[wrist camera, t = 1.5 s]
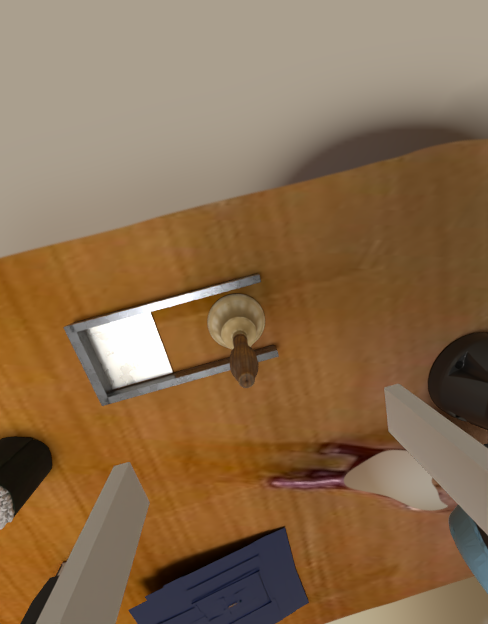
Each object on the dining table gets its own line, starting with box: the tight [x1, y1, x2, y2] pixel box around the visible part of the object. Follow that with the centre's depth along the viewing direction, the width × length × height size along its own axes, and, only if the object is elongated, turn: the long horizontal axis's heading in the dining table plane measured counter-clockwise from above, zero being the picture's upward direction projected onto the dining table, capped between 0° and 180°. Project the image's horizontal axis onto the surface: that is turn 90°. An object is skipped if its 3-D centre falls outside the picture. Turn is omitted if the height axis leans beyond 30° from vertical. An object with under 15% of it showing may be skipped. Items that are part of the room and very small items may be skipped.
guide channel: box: [64, 273, 278, 406], centre depth 32 cm, size 12×26×2 cm, turn 104°
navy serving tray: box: [129, 528, 309, 624], centre depth 46 cm, size 24×30×4 cm
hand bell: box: [207, 294, 265, 388], centre depth 26 cm, size 8×8×16 cm
